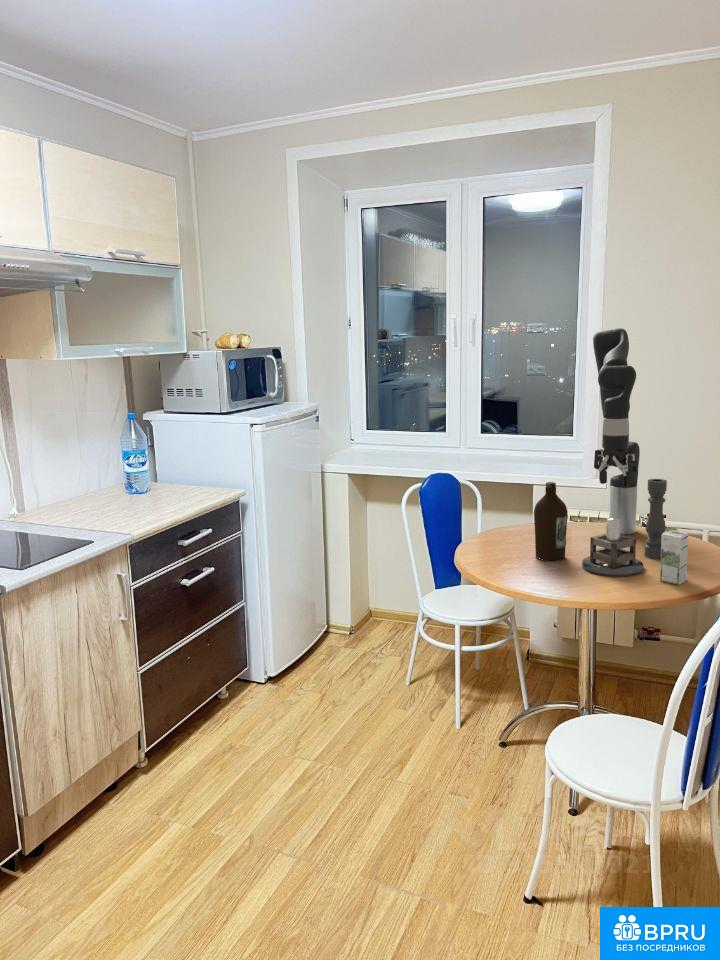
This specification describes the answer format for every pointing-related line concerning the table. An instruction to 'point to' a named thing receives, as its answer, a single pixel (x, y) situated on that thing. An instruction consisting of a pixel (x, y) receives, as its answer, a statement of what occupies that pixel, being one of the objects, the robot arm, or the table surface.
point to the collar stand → (613, 558)
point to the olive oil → (550, 525)
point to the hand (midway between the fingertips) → (614, 485)
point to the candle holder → (655, 518)
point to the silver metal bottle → (612, 532)
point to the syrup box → (674, 557)
